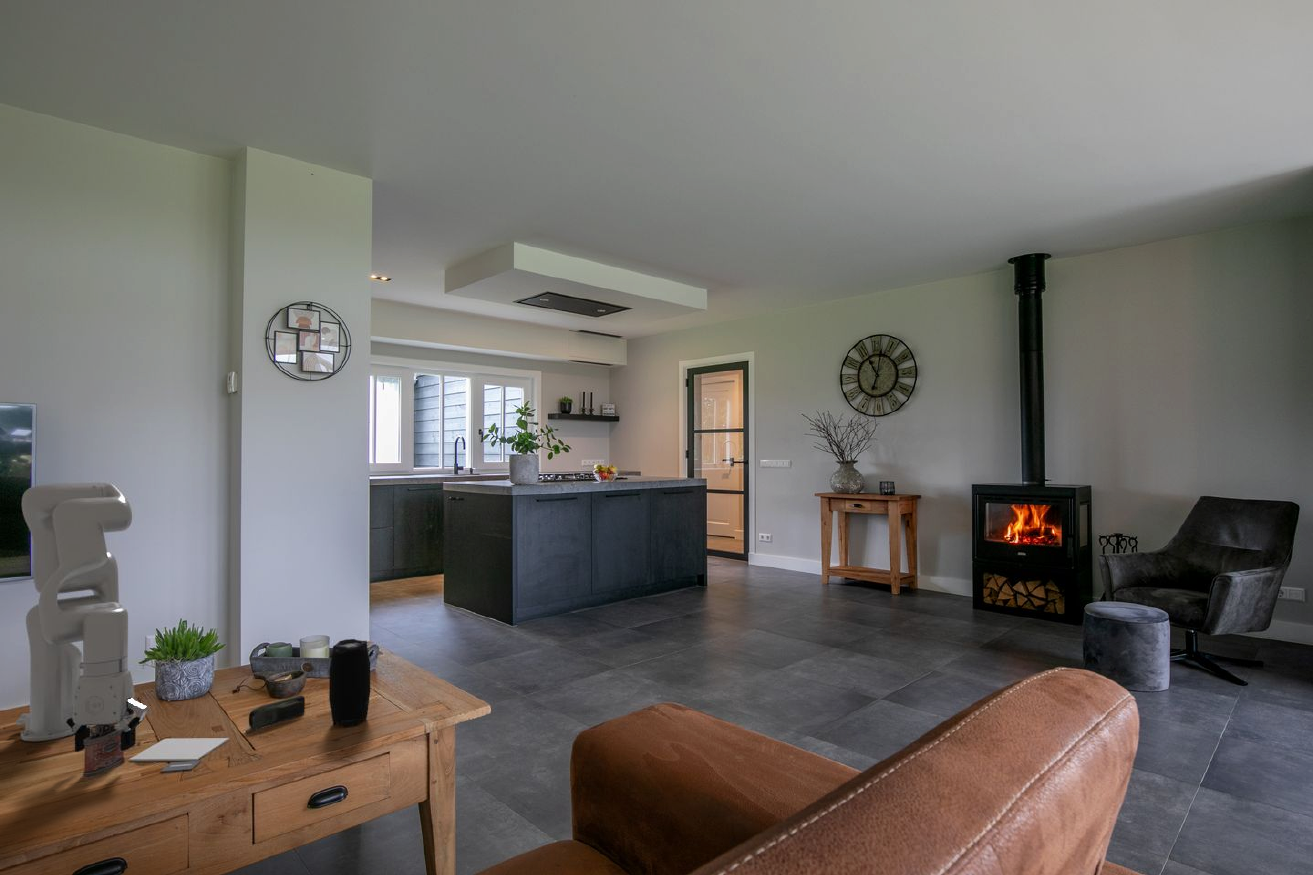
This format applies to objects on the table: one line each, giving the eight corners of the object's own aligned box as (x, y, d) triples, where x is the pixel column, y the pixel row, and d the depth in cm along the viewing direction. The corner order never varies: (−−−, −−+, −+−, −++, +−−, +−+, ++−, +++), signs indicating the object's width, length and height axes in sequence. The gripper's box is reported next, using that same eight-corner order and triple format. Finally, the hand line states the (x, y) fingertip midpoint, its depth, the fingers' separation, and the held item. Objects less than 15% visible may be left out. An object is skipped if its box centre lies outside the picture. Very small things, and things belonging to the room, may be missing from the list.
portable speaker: (377, 717, 173) (377, 639, 174) (345, 731, 165) (346, 649, 165) (353, 712, 177) (353, 636, 177) (321, 725, 169) (321, 645, 169)
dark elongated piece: (300, 693, 179) (241, 710, 166) (307, 695, 177) (248, 712, 164) (299, 712, 178) (240, 731, 165) (307, 715, 177) (248, 734, 164)
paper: (128, 761, 150) (128, 759, 150) (165, 740, 161) (165, 738, 161) (197, 760, 150) (197, 758, 150) (229, 739, 161) (229, 738, 161)
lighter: (91, 778, 142) (92, 729, 142) (78, 776, 143) (79, 728, 143) (128, 761, 150) (129, 714, 150) (116, 759, 150) (116, 713, 151)
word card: (160, 772, 144) (160, 770, 144) (170, 764, 148) (170, 762, 148) (191, 770, 145) (191, 768, 145) (200, 761, 149) (201, 759, 149)
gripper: (49, 673, 143) (49, 757, 142) (132, 671, 143) (132, 755, 142) (80, 662, 150) (79, 742, 150) (158, 661, 150) (158, 740, 150)
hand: (105, 748), depth 146 cm, fingers open, 9 cm apart
